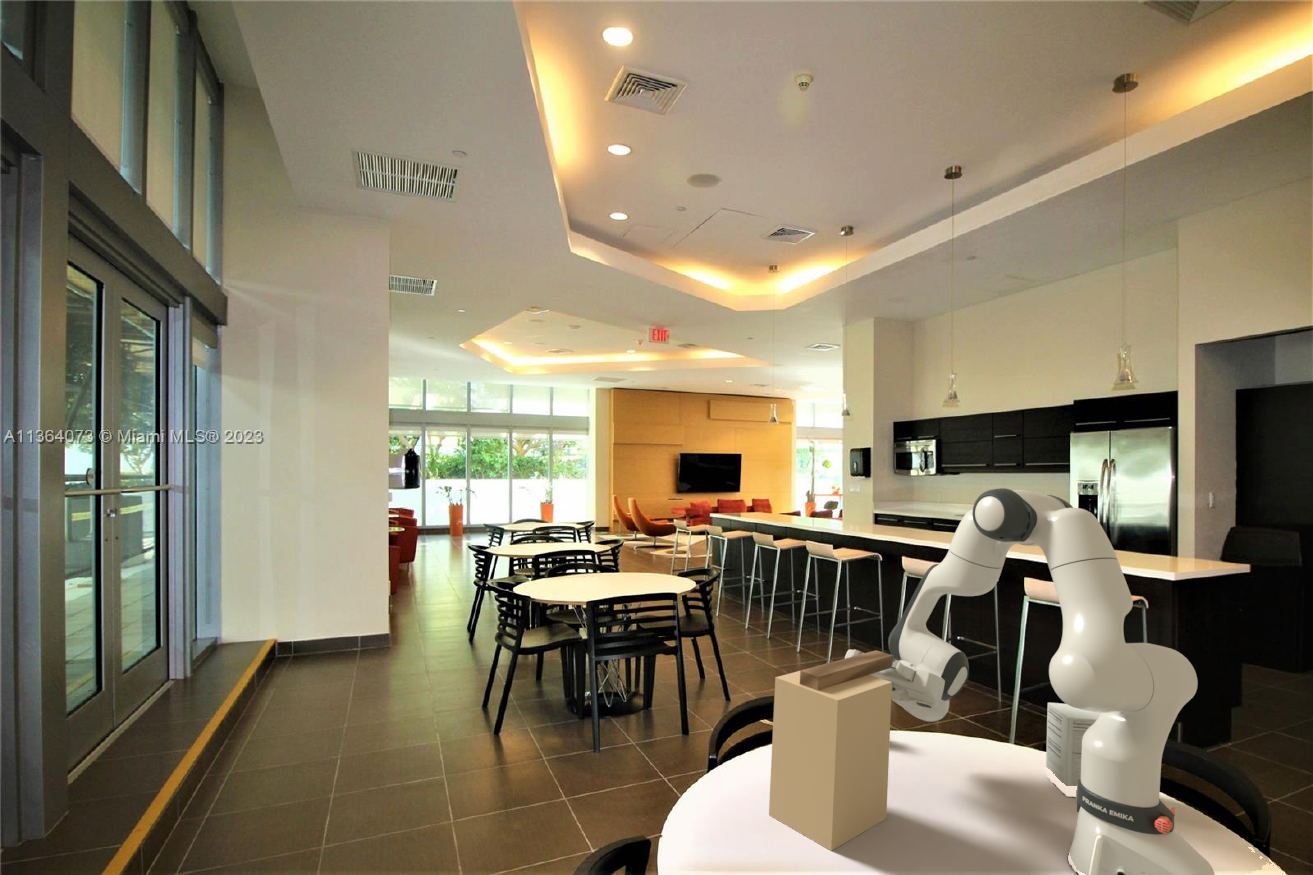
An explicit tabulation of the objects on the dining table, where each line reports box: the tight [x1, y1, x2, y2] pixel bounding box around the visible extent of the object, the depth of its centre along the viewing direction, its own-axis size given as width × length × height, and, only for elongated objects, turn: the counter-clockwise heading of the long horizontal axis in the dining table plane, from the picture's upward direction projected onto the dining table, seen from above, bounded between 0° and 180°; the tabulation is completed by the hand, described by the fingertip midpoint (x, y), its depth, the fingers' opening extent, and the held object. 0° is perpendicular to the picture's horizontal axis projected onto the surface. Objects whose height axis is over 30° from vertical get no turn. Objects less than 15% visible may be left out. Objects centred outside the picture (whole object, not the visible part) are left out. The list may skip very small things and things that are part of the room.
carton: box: [768, 664, 892, 852], centre depth 126 cm, size 14×18×26 cm
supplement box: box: [1045, 702, 1101, 786], centre depth 143 cm, size 10×9×17 cm
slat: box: [799, 650, 894, 691], centre depth 130 cm, size 4×26×2 cm, turn 130°
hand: (874, 659), depth 136 cm, fingers open, 8 cm apart
